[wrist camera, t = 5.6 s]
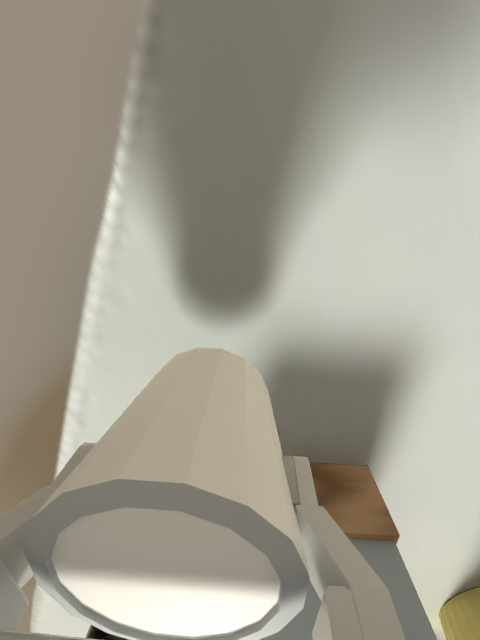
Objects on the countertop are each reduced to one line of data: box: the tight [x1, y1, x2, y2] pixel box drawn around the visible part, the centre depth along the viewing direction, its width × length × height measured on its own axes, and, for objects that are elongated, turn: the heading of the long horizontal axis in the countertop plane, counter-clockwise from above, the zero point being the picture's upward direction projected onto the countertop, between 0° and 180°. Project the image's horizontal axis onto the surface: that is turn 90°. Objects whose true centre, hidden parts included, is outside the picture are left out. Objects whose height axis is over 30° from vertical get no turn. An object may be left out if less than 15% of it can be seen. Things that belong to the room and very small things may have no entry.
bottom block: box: [310, 463, 400, 543], centre depth 20 cm, size 10×10×5 cm
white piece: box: [24, 348, 310, 640], centre depth 9 cm, size 7×7×7 cm
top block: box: [259, 538, 437, 640], centre depth 16 cm, size 9×9×5 cm
